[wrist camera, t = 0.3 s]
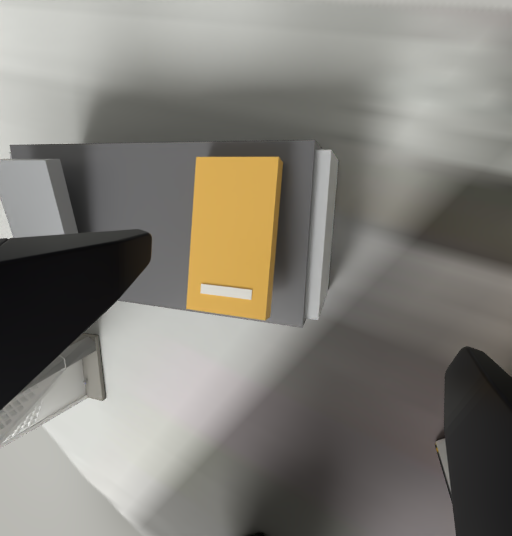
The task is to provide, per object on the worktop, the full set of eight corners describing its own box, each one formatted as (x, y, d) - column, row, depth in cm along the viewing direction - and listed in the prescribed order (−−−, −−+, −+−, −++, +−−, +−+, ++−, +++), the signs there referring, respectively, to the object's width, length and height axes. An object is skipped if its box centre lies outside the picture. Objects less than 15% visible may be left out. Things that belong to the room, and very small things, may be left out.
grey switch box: (327, 299, 24) (316, 334, 18) (89, 270, 31) (22, 290, 25) (339, 154, 22) (331, 139, 16) (78, 155, 28) (1, 145, 22)
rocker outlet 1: (90, 282, 22) (78, 289, 21) (40, 276, 23) (27, 282, 22) (60, 158, 19) (44, 160, 18) (4, 158, 20) (-13, 160, 19)
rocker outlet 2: (270, 316, 17) (264, 320, 16) (194, 306, 18) (185, 309, 17) (283, 162, 17) (278, 156, 16) (204, 162, 18) (195, 156, 17)
